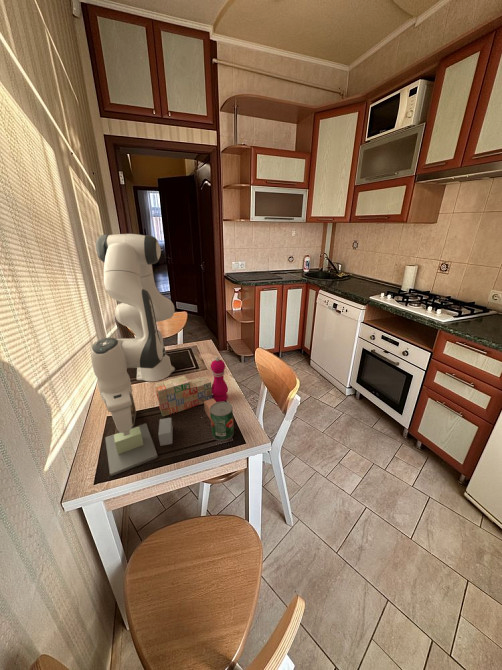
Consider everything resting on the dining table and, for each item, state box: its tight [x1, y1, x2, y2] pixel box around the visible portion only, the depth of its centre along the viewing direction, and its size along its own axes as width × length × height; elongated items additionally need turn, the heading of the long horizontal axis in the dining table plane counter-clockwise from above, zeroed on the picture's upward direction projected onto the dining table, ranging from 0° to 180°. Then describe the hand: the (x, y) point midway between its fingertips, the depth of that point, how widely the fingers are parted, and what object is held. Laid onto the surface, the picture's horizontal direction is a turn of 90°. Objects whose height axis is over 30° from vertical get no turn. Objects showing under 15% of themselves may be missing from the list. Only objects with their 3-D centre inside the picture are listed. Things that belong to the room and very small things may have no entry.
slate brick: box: [158, 417, 174, 447], centre depth 97 cm, size 4×8×5 cm, turn 14°
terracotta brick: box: [203, 398, 217, 420], centre depth 107 cm, size 4×8×5 cm, turn 30°
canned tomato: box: [210, 401, 235, 442], centre depth 97 cm, size 8×8×11 cm
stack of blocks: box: [154, 375, 213, 417], centre depth 112 cm, size 21×6×12 cm, turn 118°
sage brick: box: [114, 426, 144, 454], centre depth 91 cm, size 4×8×5 cm, turn 120°
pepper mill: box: [210, 356, 229, 402], centre depth 115 cm, size 7×7×20 cm
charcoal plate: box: [104, 423, 159, 477], centre depth 92 cm, size 18×14×1 cm
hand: (124, 424), depth 89 cm, fingers open, 8 cm apart
